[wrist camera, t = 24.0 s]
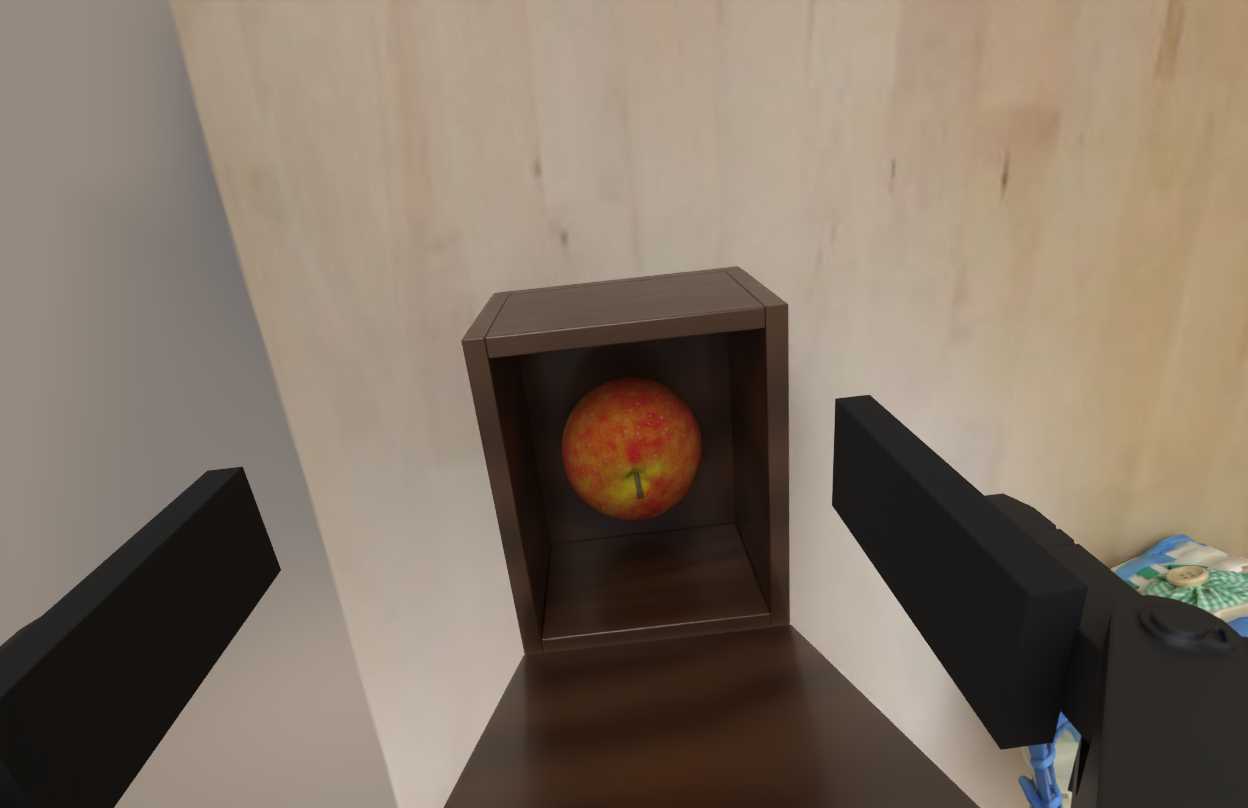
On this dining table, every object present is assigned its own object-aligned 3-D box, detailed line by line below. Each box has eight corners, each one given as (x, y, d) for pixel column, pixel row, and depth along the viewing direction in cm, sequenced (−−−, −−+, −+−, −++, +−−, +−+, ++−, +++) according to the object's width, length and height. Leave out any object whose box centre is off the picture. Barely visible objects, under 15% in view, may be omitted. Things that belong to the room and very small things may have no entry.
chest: (493, 293, 33) (460, 339, 25) (739, 266, 33) (788, 304, 25) (538, 549, 39) (525, 656, 31) (747, 525, 39) (789, 626, 31)
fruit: (550, 375, 34) (538, 437, 26) (678, 346, 34) (703, 402, 26) (580, 487, 36) (578, 573, 29) (700, 462, 36) (728, 542, 29)
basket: (1210, 456, 39) (2016, 848, 17) (1239, 643, 44) (1868, 1118, 23) (888, 590, 41) (1224, 1082, 19) (954, 751, 47) (1271, 1272, 25)
